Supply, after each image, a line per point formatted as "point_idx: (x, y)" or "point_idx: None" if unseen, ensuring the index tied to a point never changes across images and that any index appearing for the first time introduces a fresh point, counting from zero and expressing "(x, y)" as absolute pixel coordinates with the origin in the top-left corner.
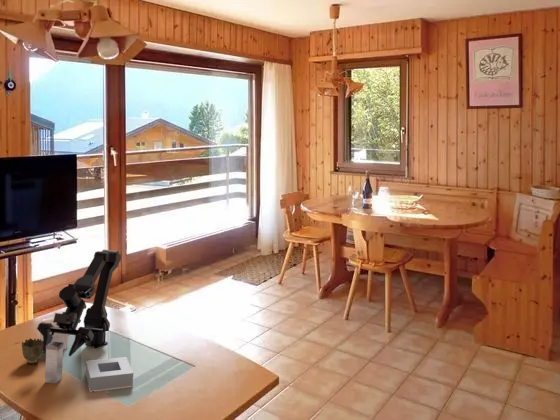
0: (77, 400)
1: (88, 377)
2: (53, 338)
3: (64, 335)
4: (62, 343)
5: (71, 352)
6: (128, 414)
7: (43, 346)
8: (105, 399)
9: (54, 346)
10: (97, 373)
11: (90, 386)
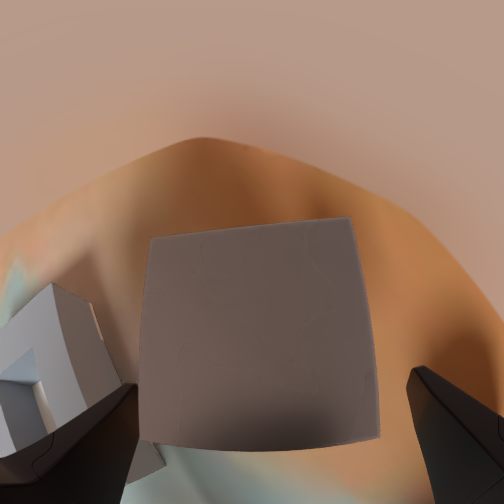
0: (114, 236)
1: (87, 352)
2: None
3: None
4: (139, 401)
5: (107, 400)
6: (20, 226)
7: (459, 391)
8: (51, 271)
9: (204, 239)
10: (36, 330)
11: (76, 297)
